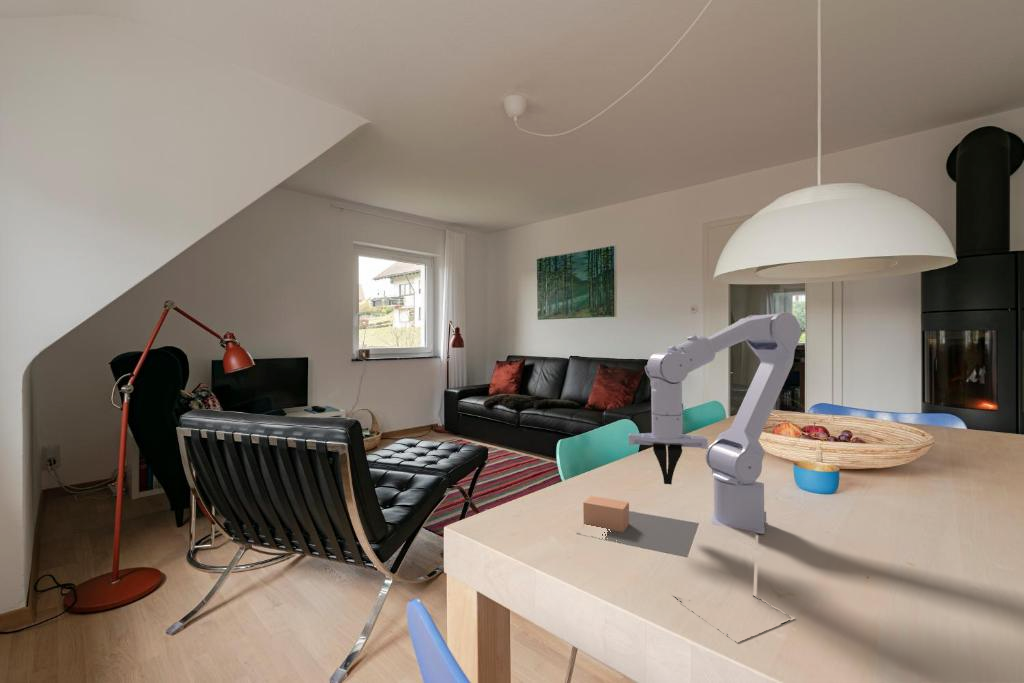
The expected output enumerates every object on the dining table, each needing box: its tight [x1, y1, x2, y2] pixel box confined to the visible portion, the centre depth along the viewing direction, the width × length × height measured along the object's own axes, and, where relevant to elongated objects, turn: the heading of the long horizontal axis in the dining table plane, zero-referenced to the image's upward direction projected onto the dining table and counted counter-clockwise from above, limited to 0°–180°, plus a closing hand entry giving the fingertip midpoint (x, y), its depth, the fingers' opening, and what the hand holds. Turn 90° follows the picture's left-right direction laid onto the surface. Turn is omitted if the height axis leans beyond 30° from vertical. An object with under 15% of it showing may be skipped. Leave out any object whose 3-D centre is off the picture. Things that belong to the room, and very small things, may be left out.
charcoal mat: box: [598, 510, 699, 558], centre depth 88 cm, size 20×16×1 cm
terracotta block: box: [582, 495, 630, 532], centre depth 90 cm, size 4×4×8 cm
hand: (667, 482), depth 88 cm, fingers closed
